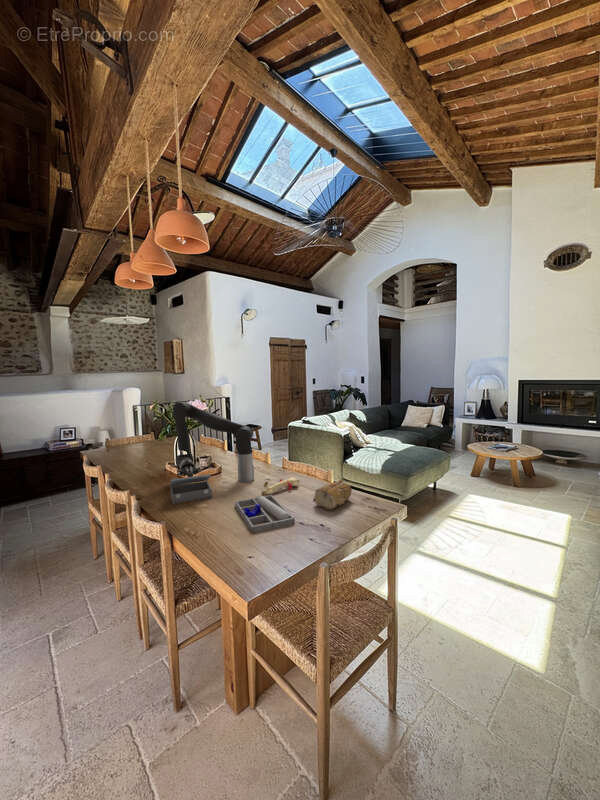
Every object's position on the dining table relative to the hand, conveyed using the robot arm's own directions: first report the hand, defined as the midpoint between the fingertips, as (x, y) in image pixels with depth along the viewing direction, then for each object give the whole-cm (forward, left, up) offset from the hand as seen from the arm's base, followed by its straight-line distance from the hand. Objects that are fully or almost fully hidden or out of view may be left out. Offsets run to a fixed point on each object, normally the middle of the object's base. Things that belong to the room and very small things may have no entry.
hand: (190, 475), depth 182 cm
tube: (-33, +36, -13) cm, 51 cm away
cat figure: (-48, +8, -13) cm, 51 cm away
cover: (0, -5, -4) cm, 6 cm away
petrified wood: (-66, +38, -13) cm, 77 cm away
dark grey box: (0, -4, -13) cm, 14 cm away
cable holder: (-24, +35, -13) cm, 44 cm away
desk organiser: (-28, +35, -13) cm, 46 cm away
